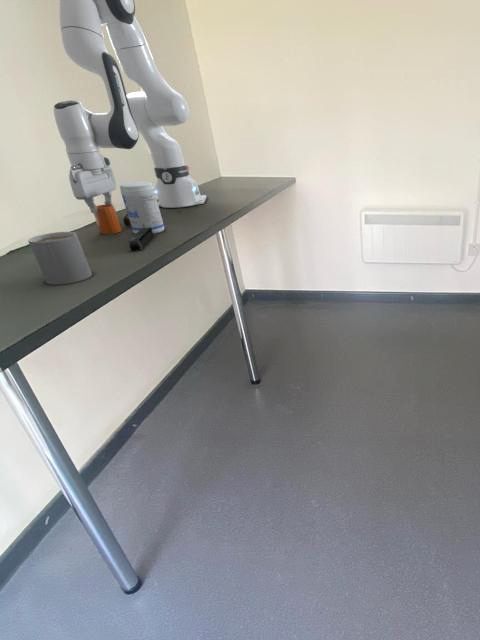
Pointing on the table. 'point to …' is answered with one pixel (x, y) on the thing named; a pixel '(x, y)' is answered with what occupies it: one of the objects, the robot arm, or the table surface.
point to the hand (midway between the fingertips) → (102, 209)
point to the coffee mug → (60, 257)
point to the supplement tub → (142, 206)
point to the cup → (107, 219)
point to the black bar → (141, 239)
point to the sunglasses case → (127, 221)
